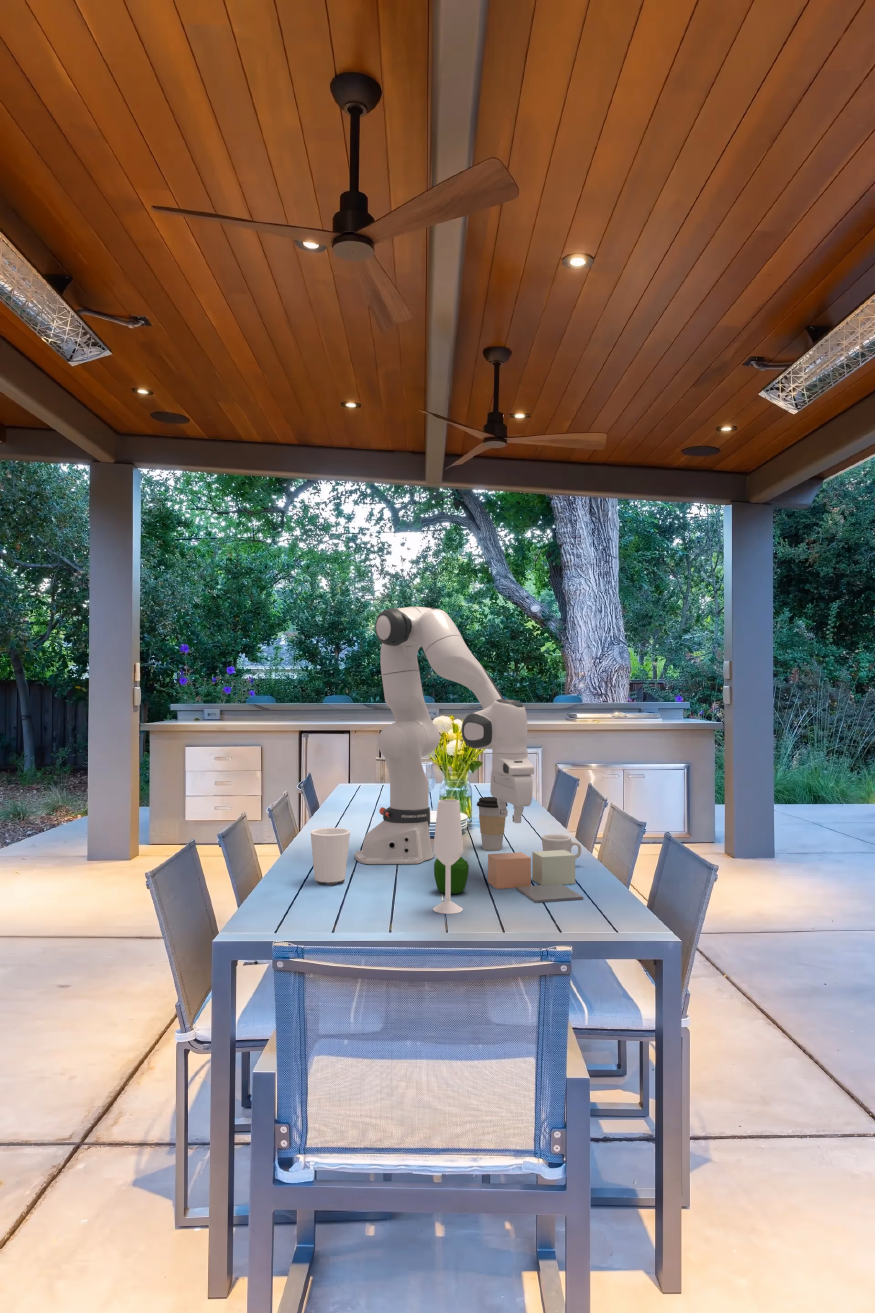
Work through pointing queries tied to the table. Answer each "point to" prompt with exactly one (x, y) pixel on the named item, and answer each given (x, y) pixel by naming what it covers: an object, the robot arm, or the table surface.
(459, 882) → the bell pepper
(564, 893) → the slate coaster
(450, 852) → the champagne flute
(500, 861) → the terracotta block
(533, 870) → the matte beige cube
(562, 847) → the cup
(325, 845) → the cup
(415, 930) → the table surface
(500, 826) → the coffee cup
